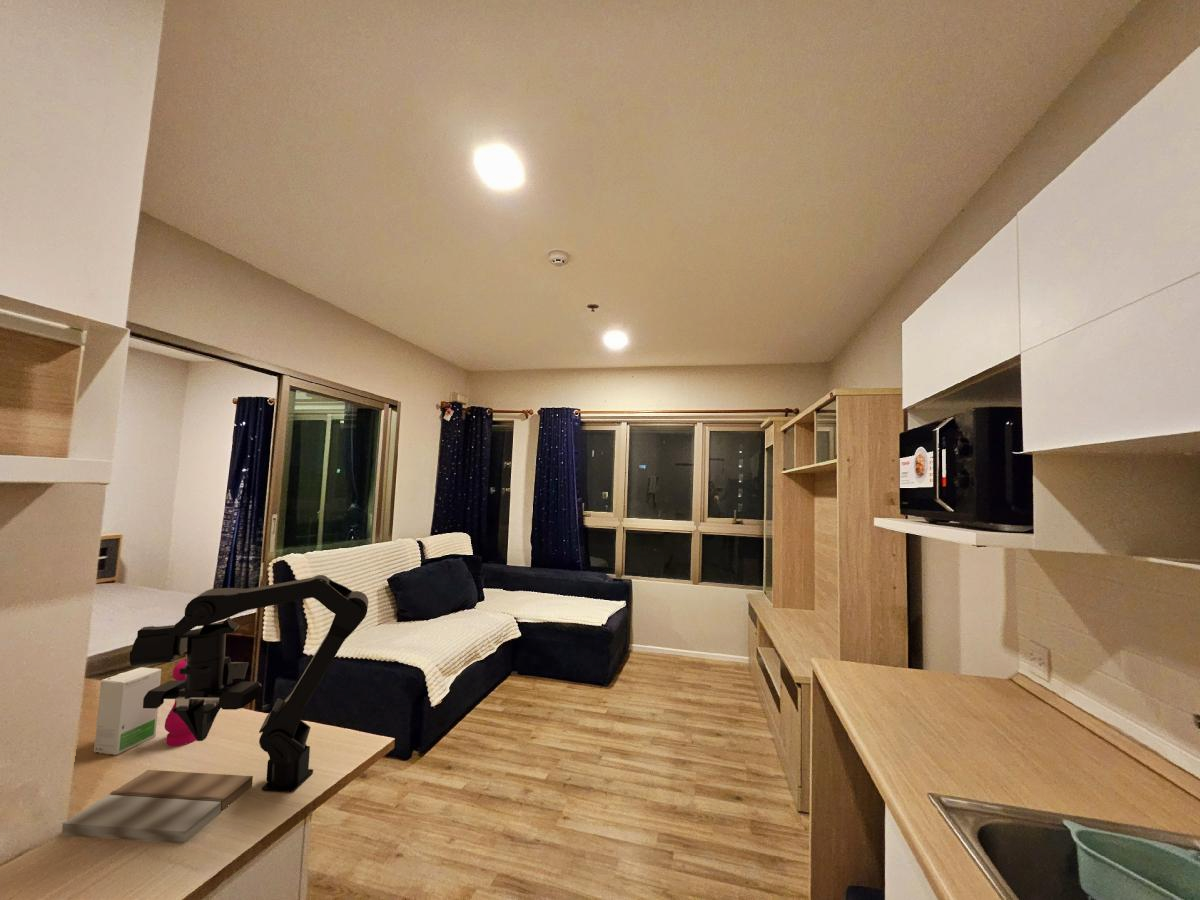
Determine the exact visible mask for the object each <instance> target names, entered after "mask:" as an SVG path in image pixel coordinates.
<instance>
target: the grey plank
mask: <svg viewBox="0 0 1200 900" xmlns="http://www.w3.org/2000/svg"><path fill="white" fill-rule="evenodd" d="M221 813H222V812H221V802H216V801H200V800H184V799H168V798H152V797H136V796H120V795H110V794H106V795H105V796H104V797H102V798H100V799H99V800H97V801H96V802H94V803H92V804H91V805H89V806H88V807H86V808H84V810H81V811H80V812H78V813H77V814H75V815H74V816H72V817H70V818H69V819H67V820H66V821H64V822H63V823H62V826H61V836H66V837H80V838H81V837H82V838H95V839H97V838H98V839H113V840H126V841H140V842H141V841H142V842H157V843H169V844H172V843H173V844H184V845H185V844H186V843H187V842H189V840H191V839H192V838H193V837H194V836H195V835H197V834H198V833H199V832H200V831H202V829H204V828H205V827H206V826H207V825H209V824H210V823H211V822H212V821H213V820H214V819H215V818H217V817H218V816H219V815H220V814H221Z"/></svg>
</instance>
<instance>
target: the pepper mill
mask: <svg viewBox="0 0 1200 900" xmlns="http://www.w3.org/2000/svg"><path fill="white" fill-rule="evenodd" d="M186 659H187V654H186V655H185V659H183V660H180V661H179V662H178V663H177V664H176V665H175V666H174V668H173V671H172V678H173V679H174V681H185V677H186V674H180V668H182V667H185V666H186ZM176 704H177V701H175V700H174V703H173V705H172V707H171V709H170V710H169V713H168V714H167V716H166V719H165V722H164V730H165V731H166V732H168V733H167V734H166V737H165V738H166V739H165V740H166V741H165V744H166V746H168V747H180V746H185V745H188V744H190V743H193V742H195V741H197V740H196V738H195V737H194V735H193V734H192V732H191V731H190V729H189V728H188V727H187V725H186V724H185V723H184V721H183V720H182V719H181V718H180V717H179V716H178V715H177V713H173V712H172V710H173V709H174V708H176Z"/></svg>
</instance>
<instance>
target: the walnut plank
mask: <svg viewBox="0 0 1200 900" xmlns="http://www.w3.org/2000/svg"><path fill="white" fill-rule="evenodd" d="M253 778H254V777H253V775H239V774H226V773H225V774H222V773H207V772H191V771H190V772H189V771H173V770H172V771H171V770H157V769H147V770H145V771H144V772H142V773H140V774H139V775H137V776H135V777H134V778H133V779H131V780H129V781H128V782H126V783H125V784H123V785H121V786H120V787H118V788H116V789H114V790H112V791H111V792H110V793H109V795H120V796H136V797H152V798H168V799H184V800H200V801H216V802H221V811H222V812H224V811H225V810H226V809H227V808H228V807H229V806H231V805H232V804H233V803H234V802H235V801H237V800H238V799H239V798H240V797H241V796H243V795H244V794H245V793H246V792H247V791H249V789H251V788H252V787H253ZM231 803H232V804H231ZM230 804H231V805H230ZM228 805H229V806H228ZM226 807H227V808H226ZM225 808H226V809H225ZM224 809H225V810H224ZM223 810H224V811H223Z"/></svg>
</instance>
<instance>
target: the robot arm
mask: <svg viewBox="0 0 1200 900" xmlns="http://www.w3.org/2000/svg"><path fill="white" fill-rule="evenodd" d="M307 599H314V600H316V601H318V602H319V603H320V604H322V606H324V607H325V608H326V609H327V610H329V611H330V612H332V613H334V617H333V619H332V622H331V625H330V627H329V630H328V632H327V634H326V635H325V637H324V638H323V639H322V641H321V643H320V645H319V647H318V649H316V652H315V653H314V655H313V656H312V658H311V661H310V662H309V663H308V665H307V667H305V670H304V672H302V675H301V677H299V680H298V682H297V683H296V684H295V687H294V688H293V690H292V691H291V693H290V694H288V696H287V697H286V698H285V699H284V700H283V699H281V698H279V697H278V698H277V699H276V701H275V704H274V706H273V707H272V710H271V711H270V712H269V713H268V714H267V715H266V717H265V719H264V721H263V723H262V725H261V727H260V729H259V732H258V733H259V734H260V733H261V735H260V737H259V739H258V744H259V747H260V748H261V749H262V750H263V751H264V752H266V753H267V754H268V757H269V759H268V760H267V767H266V782H267V783H265V784H264V785H262V787H261V791H263V792H264V791H265V792H276V793H277V792H278V793H279V792H280V793H293V792H295V790H296V789H298V788H299V787H300V785H302V784H303V783H304V782H305V781H306V780H307V779H308V778H309V777H310V776H311V775H313V773H314V769H313V768H312V769H311V768H309V766H310V754H311V753H310V752H311V751H310V750H311V746H310V745H307V741H308V738H309V734H310V731H311V726H310V725H308V724H307V723H306V722H305V721H303V720H302V717H303V715H304V712H305V709H306V707H307V704H308V703H309V702H310V699H311V698H312V696H313V694H314V693H315V691H316V689H317V687H318V686H319V685H320V683H321V681H322V679H323V677H324V676H325V674H326V672H327V671H328V670H329V667H330V666H331V664H332V663H333V661H334V659H335V658H336V655H337V653H338V652H339V650H340V649H341V647H342V645H343V644H344V643H345V641H346V640H347V639H348V638H349V637H350V635H352V634H353V633H354V631H355V630H356V629H357V628H358V627H359V625H360V624H361V623H362V622H363V621H364V619H365V618H366V617H367V613H368V607H369V598H368V596H367V594H366V593H364V592H362V591H358V590H352V589H350V588H348V587H347V586H345V585H343V584H340V583H338V582H336V581H334V580H332V579H331V578H329V577H327V576H326V575H324V574H317V575H315V576H312V577H307V578H301V579H295V580H292V581H291V580H290V581H286V582H279V583H274V584H268V585H263V586H257V587H251V588H240V587H239V588H238V587H222V588H221V587H219V588H210V589H207V590H205V591H203V592H202V593H200V594H198V595H197V596H195V597H194V598H193V599H191V600H190V601H189V602H188V603H187V604H186V606H185V609H184V616H183V617H182V618H181V619H180V620H179V621H177V622H176V623H175V624H171V625H170V624H169V625H162V626H154V625H151V626H143V627H142V628H140V629H138V630H137V636H136V638H135V640H134V641H133V645H132V648H131V651H130V652H129V663H130V664H129V665H130V666H131V667H133V668H137V667H143V666H145V667H146V666H151V665H159V664H166V663H167V664H169V663H173V662H175V661H177V660H178V657H179V656H183V655H184V654H185V653H186V655H187V658H185V659H186V666H185V667H182V668H180V674H186V677H185V681H176V680H169V681H167V682H164V683H162V684H160V686H158V687H156V688H154V689H152V690H150V691H148V692H147V694H146V695H145V697H144V698H143V708H158V709H159V708H160V707H161V706H162V705H163V704H164V703H165V700H174V702H175V701H177V704H176V708H174V709H173V710H172V712H173V713H177V715H178V716H179V717H180V718H181V719H182V720H183V721H184V723H185V724H186V725H187V727H188V728H189V729H190V731H191V732H192V734H193V735H194V737H195V738H196V740H195V741H197V742H203V741H204V740H206V738H208V735H209V733H210V731H211V728H212V726H213V723H214V722H215V719H216V717H217V715H218V714H219V712H220V710H226V711H227V710H231V711H233V710H235V711H236V710H240V709H243V708H244V707H245V706H247V705H249V704H250V703H252V702H253V701H255V700H256V699H258V698H260V697H261V696H262V695H263V694H262V690H263V689H262V688H263V687H262V683H260V682H259V681H240V682H237V683H236V684H235V685H232V686H231V687H228V685H230V684H232V683H233V680H235V679H236V680H237V679H239V680H244V679H245V677H246V675H247V674H246V673H247V670H248V667H249V662H245V661H242V662H241V661H233V662H232V658H231V657H230V656H226V640H227V639H226V638H227V634H232V633H235V631H237V630H238V628H239V627H240V624H239V623H237V622H236V621H234V620H232V618H231V617H234V616H235V615H238V614H241V613H243V612H247V611H250V610H256V609H261V608H265V607H271V606H276V605H282V604H286V603H287V604H288V603H291V602H292V603H293V602H296V601H301V600H307ZM223 620H224V621H223ZM220 621H223V622H220ZM196 627H202V628H197V629H195V628H196ZM226 685H227V687H225V686H226Z"/></svg>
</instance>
